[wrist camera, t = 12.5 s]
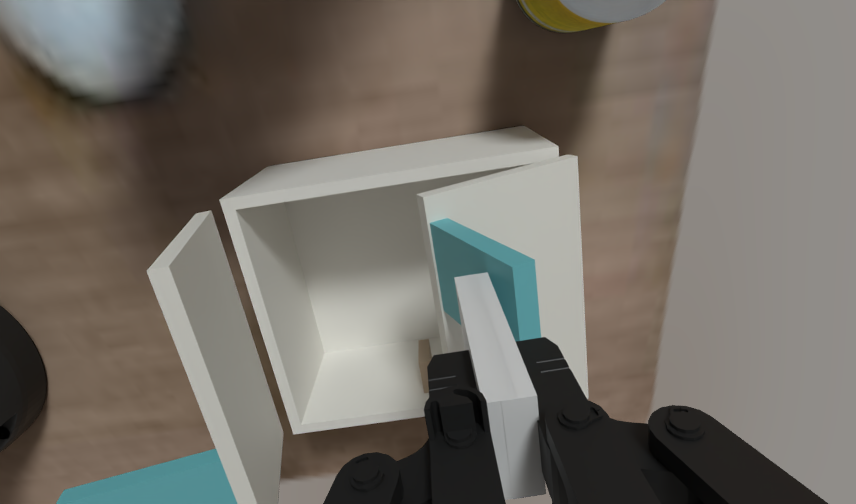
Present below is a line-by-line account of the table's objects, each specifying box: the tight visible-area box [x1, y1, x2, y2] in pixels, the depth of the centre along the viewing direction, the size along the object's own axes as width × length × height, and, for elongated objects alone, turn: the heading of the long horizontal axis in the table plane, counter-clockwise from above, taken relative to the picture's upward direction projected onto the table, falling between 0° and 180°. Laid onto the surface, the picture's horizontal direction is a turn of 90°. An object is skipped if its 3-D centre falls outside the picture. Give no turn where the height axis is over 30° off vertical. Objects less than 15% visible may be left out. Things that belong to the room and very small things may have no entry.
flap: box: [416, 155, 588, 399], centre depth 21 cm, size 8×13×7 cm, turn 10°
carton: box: [219, 126, 559, 434], centre depth 30 cm, size 16×16×8 cm
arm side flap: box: [56, 210, 283, 504], centre depth 22 cm, size 8×13×7 cm
